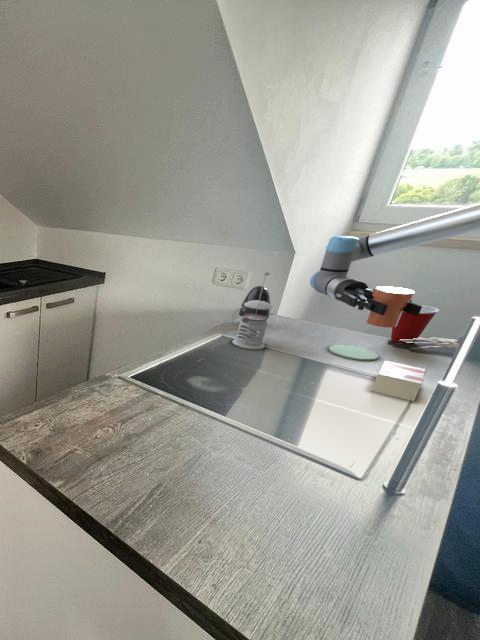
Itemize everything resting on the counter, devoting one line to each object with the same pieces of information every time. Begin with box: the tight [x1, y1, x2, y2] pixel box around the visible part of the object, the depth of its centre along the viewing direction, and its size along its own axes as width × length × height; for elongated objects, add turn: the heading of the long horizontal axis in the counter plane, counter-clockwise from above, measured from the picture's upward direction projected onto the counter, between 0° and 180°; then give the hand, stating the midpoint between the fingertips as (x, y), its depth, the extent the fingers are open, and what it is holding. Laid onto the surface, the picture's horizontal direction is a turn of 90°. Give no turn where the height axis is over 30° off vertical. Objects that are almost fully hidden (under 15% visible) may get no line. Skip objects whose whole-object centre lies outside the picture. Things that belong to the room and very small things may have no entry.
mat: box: [328, 344, 379, 361], centre depth 125 cm, size 12×12×1 cm
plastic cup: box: [390, 304, 440, 345], centre depth 130 cm, size 11×11×12 cm
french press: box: [231, 270, 273, 350], centre depth 130 cm, size 10×12×25 cm
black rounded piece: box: [238, 285, 271, 325], centre depth 149 cm, size 10×10×15 cm
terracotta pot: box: [365, 286, 416, 329], centre depth 110 cm, size 8×8×10 cm
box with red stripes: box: [370, 360, 426, 402], centre depth 102 cm, size 12×8×5 cm
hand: (401, 310), depth 106 cm, fingers closed on terracotta pot, 7 cm apart
